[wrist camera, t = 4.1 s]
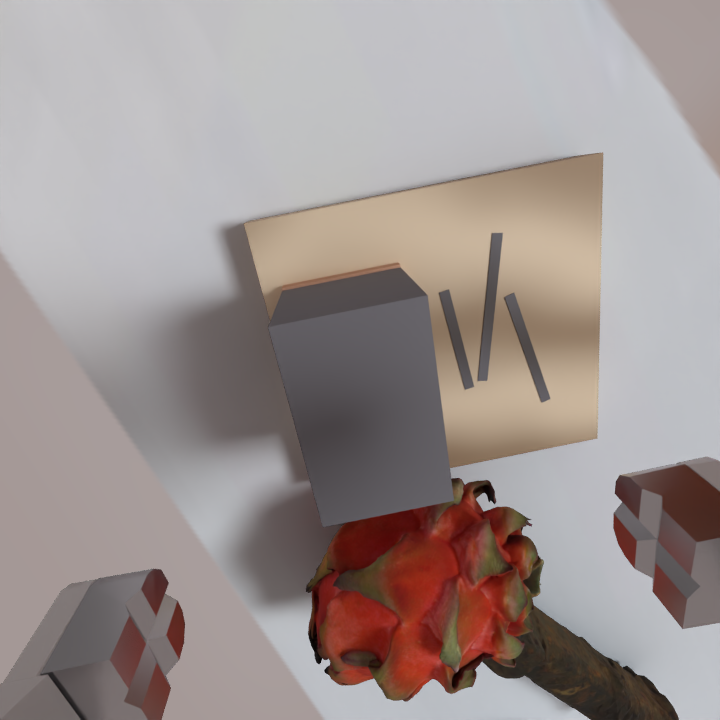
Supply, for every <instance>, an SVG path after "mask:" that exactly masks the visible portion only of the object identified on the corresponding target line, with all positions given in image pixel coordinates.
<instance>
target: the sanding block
mask: <svg viewBox="0 0 720 720" xmlns="http://www.w3.org/2000/svg"><path fill="white" fill-rule="evenodd" d="M268 329H269V333H270V336H271V340H272V344H273V347H274V351H275V355H276V358H277V362H278V366H279V369H280V373H281V377H282V380H283V384H284V388H285V391H286V395H287V399H288V402H289V406H290V409H291V413H292V417H293V420H294V424H295V428H296V431H297V435H298V439H299V442H300V446H301V450H302V453H303V457H304V461H305V464H306V468H307V472H308V475H309V479H310V483H311V486H312V490H313V493H314V497H315V501H316V504H317V508H318V512H319V515H320V519H321V523H322V526H323V527H327V526H332V525H337V524H342V523H347V522H351V521H356V520H361V519H366V518H371V517H376V516H381V515H386V514H391V513H396V512H401V511H406V510H411V509H416V508H421V507H426V506H431V505H436V504H440V503H445V502H450V501H454V496H453V489H452V481H451V473H450V465H449V457H448V450H447V442H446V434H445V426H444V419H443V411H442V403H441V395H440V387H439V380H438V372H437V364H436V356H435V348H434V341H433V333H432V325H431V317H430V309H429V302H428V295H427V294H426V293H425V292H424V291H423V290H422V289H421V288H420V287H419V286H418V285H417V284H416V283H415V282H414V281H413V280H412V279H411V278H410V276H409V275H408V274H407V273H406V272H405V271H404V270H403V269H402V268H401V267H400V264H399V263H393V264H387V265H382V266H377V267H372V268H367V269H362V270H357V271H352V272H347V273H342V274H337V275H332V276H327V277H322V278H317V279H312V280H307V281H302V282H297V283H292V284H287V285H283V286H282V292H281V295H280V298H279V300H278V303H277V305H276V308H275V310H274V313H273V315H272V318H271V321H270V323H269V326H268Z"/></svg>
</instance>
